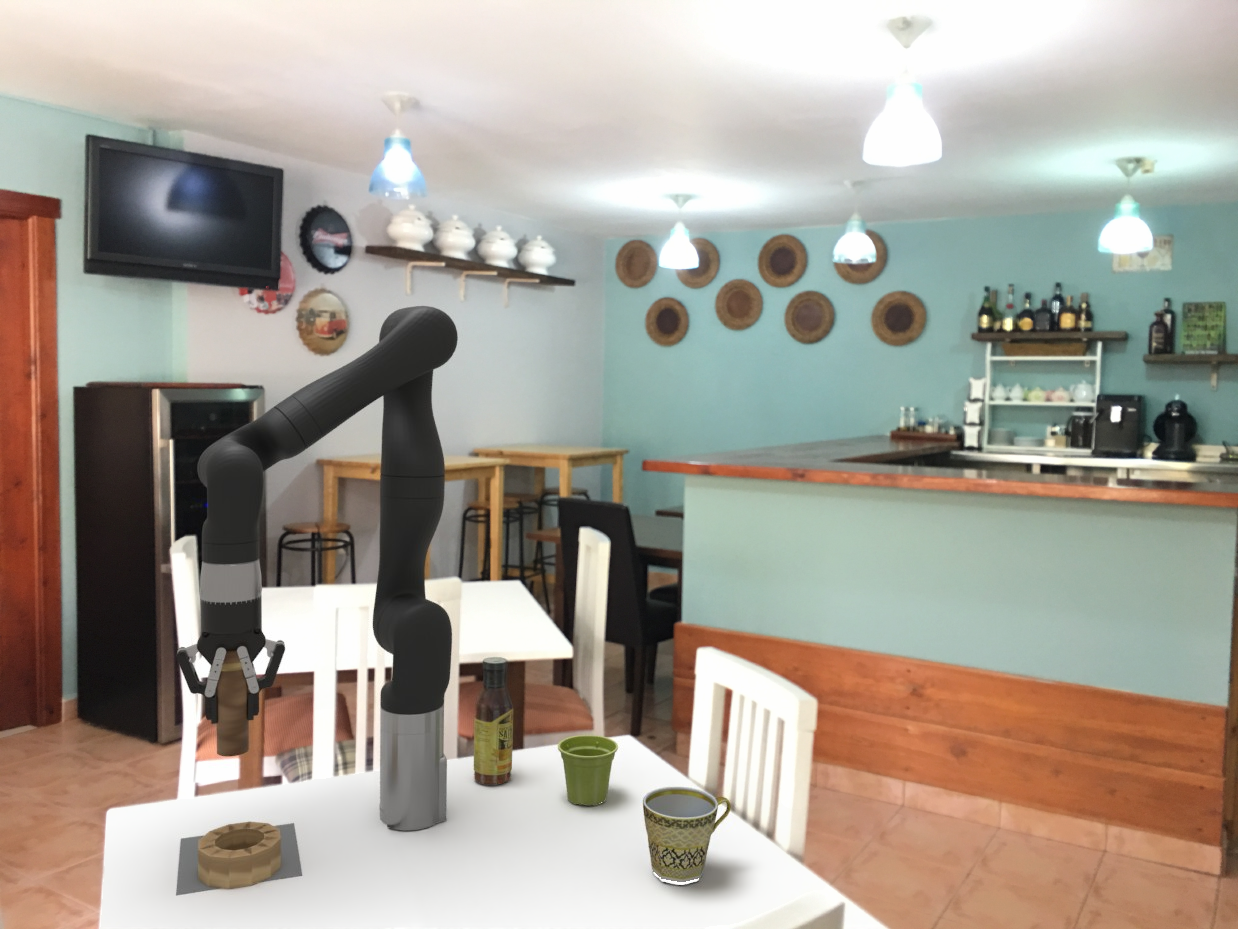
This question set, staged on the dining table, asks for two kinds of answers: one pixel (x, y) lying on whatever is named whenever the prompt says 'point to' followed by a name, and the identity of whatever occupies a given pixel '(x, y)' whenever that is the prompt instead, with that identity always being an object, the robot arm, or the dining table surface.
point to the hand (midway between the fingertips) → (232, 719)
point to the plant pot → (587, 767)
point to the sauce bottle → (493, 725)
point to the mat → (191, 884)
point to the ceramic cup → (680, 830)
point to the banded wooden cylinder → (232, 708)
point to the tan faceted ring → (239, 854)
